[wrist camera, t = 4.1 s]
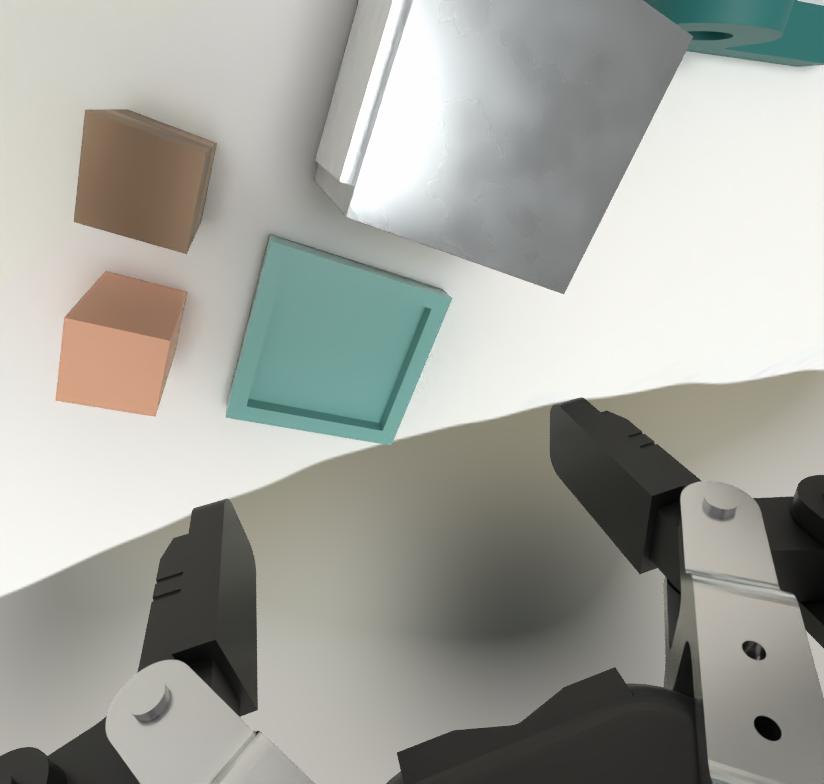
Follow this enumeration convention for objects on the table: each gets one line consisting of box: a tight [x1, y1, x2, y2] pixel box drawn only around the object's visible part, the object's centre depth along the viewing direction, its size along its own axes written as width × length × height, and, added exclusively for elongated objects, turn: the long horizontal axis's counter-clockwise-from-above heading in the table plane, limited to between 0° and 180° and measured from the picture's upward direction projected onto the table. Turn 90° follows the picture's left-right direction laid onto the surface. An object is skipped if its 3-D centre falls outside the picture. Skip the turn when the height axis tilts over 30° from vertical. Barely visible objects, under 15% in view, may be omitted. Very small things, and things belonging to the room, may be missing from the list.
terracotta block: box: [56, 271, 187, 416], centre depth 25 cm, size 4×4×7 cm
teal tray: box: [226, 234, 452, 445], centre depth 31 cm, size 11×11×2 cm
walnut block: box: [74, 110, 217, 254], centre depth 22 cm, size 4×4×7 cm
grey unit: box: [314, 0, 693, 294], centre depth 23 cm, size 11×10×11 cm
